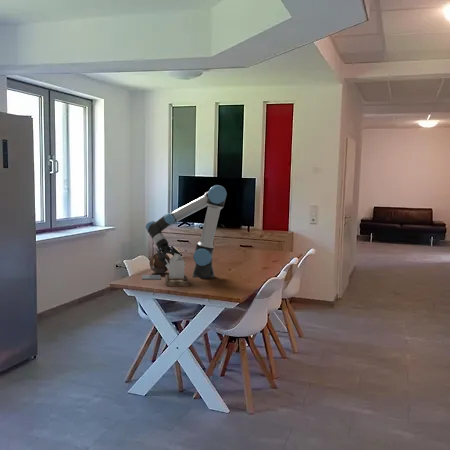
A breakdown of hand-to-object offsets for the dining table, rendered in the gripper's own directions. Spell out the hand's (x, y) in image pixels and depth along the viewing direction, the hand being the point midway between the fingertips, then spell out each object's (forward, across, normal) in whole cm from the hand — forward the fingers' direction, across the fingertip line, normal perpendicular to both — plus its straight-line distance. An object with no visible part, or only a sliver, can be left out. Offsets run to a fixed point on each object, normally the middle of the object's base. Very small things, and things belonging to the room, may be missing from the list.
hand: (177, 267), depth 306 cm
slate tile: (-6, +4, -21) cm, 22 cm away
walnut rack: (+10, +3, -5) cm, 11 cm away
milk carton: (+7, 0, -8) cm, 11 cm away
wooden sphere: (-14, -16, -29) cm, 37 cm away
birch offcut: (+11, +7, -2) cm, 13 cm away
